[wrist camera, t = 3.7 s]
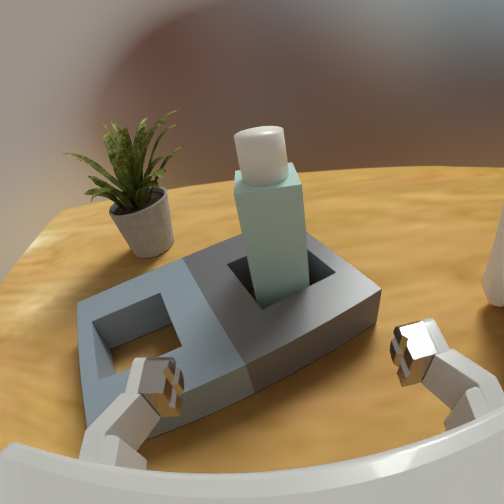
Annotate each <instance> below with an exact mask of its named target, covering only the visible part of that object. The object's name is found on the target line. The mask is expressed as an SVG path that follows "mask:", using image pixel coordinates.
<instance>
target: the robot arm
mask: <svg viewBox="0 0 504 504" xmlns="http://www.w3.org/2000/svg"><path fill="white" fill-rule="evenodd" d="M393 333H394V336H395V337H394V338H393V339H392V340H391V344H390V354H391V358H392V361H393V364H395V365H396V366H397V367H399V368H398V371H397V375H398V378H399V380H400V383H401V386H402V387H405V386H409V385H412V384H416V383H420V382H422V384H423V385H424V386H425V387H426V388H427V389H429V390H430V391H431V392H432V393H433V394H434V395H435V396H436V397H438V398H439V399H440V400H441V401H442V402H443V403H444V404H445V405H447V406H448V407H449V408H450V409H451V410H452V411H451V412H450V414H449V415H448V416H447V417H446V419H445V420H444V425H445V428H446V432H443V433H440V434H438V435H435V436H432V437H429V438H426V439H423V440H420V441H417V442H414V443H411V444H408V445H405V446H401V447H398V448H395V449H391V450H387V451H384V452H380V453H376V454H372V455H368V456H364V457H359V458H355V459H350V460H345V461H340V462H335V463H329V464H323V465H317V466H310V467H303V468H296V469H287V470H277V471H266V472H251V473H220V474H208V473H177V472H163V471H151V470H146V469H147V460H146V458H144V457H143V456H142V455H140V454H139V453H138V452H137V450H138V449H139V447H140V446H141V444H142V443H143V442H144V440H145V439H146V438H147V436H148V435H149V433H150V432H151V431H152V429H153V428H154V426H155V425H156V424H157V422H158V421H159V419H160V417H174V416H181V410H182V400H181V399H180V397H179V396H180V395H181V394H182V393H183V392H184V377H183V374H182V371H181V370H180V369H179V368H178V367H176V361H175V359H174V358H173V357H149V358H148V357H146V358H135V359H134V360H133V362H132V366H131V370H130V373H129V377H128V381H127V385H126V389H125V393H121V394H120V395H119V396H118V397H117V398H116V399H115V400H114V401H113V402H112V404H111V405H110V406H109V407H108V408H107V409H106V410H105V411H104V412H103V413H102V414H101V415H100V416H99V417H98V418H97V419H96V420H95V421H94V422H93V423H92V424H91V425H90V426H89V427H88V428H87V429H86V431H85V434H84V438H83V442H82V446H81V450H80V455H79V459H76V458H72V457H67V456H63V455H59V454H55V453H52V452H48V451H44V450H41V449H37V448H34V447H31V446H28V445H25V444H22V443H18V442H12V443H11V444H9V445H8V446H6V447H5V448H4V449H3V450H1V451H0V504H504V392H503V390H502V388H501V386H500V384H499V382H498V380H497V378H496V376H494V375H493V374H491V373H489V372H488V371H486V370H485V369H483V368H482V367H480V366H479V365H477V364H476V363H474V362H473V361H471V360H470V359H468V358H466V357H465V356H463V355H462V354H460V353H459V352H457V351H456V350H454V349H451V350H450V349H449V347H448V345H447V343H446V341H445V339H444V337H443V335H442V333H441V331H440V330H439V328H438V326H437V324H436V322H435V320H434V319H433V318H428V319H425V320H421V321H415V322H411V323H407V324H403V325H399V326H396V327H395V329H394V332H393Z"/></svg>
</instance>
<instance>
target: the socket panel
mask: <svg viewBox="0 0 504 504" xmlns="http://www.w3.org/2000/svg"><path fill="white" fill-rule="evenodd" d="M306 240H307V253H308V268H309V282H310V283H312V284H313V285H311V286H309V287H307V288H305V289H303V290H301V291H299V292H297V293H295V294H293V295H291V296H289V297H287V298H285V299H283V300H281V301H279V302H277V303H275V304H273V305H271V306H269V307H267V308H265V309H263V310H262V309H261V307H260V306H259V305H258V304H257V302H256V301H255V300H254V298H253V297H252V296H251V295H250V293H249V292H248V291H247V290H248V289H251V288H253V283H252V278H251V274H250V269H249V264H248V259H247V255H246V250H245V245H244V240H243V235H242V234H240V235H237V236H235V237H232V238H230V239H227V240H225V241H222V242H220V243H218V244H215V245H213V246H210V247H208V248H205V249H203V250H200V251H198V252H195V253H193V254H191V255H188V256H186V257H183V258H181V259H178V260H176V261H174V262H171V263H169V264H166V265H164V266H162V267H159V268H157V269H154V270H152V271H150V272H147V273H145V274H143V275H140V276H138V277H135V278H133V279H131V280H128V281H126V282H124V283H121V284H119V285H117V286H114V287H112V288H110V289H107V290H105V291H103V292H100V293H98V294H96V295H93V296H91V297H89V298H86V299H84V300H82V301H79V302H77V328H78V349H79V363H80V374H81V384H82V393H83V401H84V408H85V415H86V421H87V428H88V427H89V426H90V425H91V424H92V423H93V422H94V421H95V420H96V419H97V418H98V417H99V416H100V415H101V414H102V413H103V412H104V411H105V410H106V409H107V408H108V407H109V406H110V405H111V404H112V402H113V401H114V400H115V399H116V398H117V397H118V396H119V395H120V394H121V393H125V389H126V385H127V381H128V377H129V373H130V370H131V368H129V369H127V370H124V371H122V372H119V373H116V374H115V369H114V364H113V359H112V353H111V349H112V348H114V347H117V346H119V345H122V344H124V343H127V342H129V341H131V340H134V339H136V338H139V337H141V336H143V335H146V334H148V333H150V332H153V331H155V330H157V329H160V328H162V327H165V326H167V325H169V324H172V323H173V326H174V328H175V331H176V333H177V335H178V338H179V340H180V342H181V345H182V347H179V348H177V349H175V350H172V351H170V352H168V353H165V354H163V355H161V356H158V357H173V358H174V359H175V361H176V367H178V368H179V369H180V370H181V371H182V374H183V377H184V392H183V393H182V394H181V395H180V396H179V397H180V399H181V400H182V410H181V416H174V417H160V419H159V421H158V422H157V424H156V425H155V426H154V428H153V429H152V431H151V432H150V433H149V435H148V436H147V438H146V439H145V440H147V439H150V438H152V437H155V436H158V435H160V434H163V433H166V432H168V431H171V430H173V429H176V428H178V427H181V426H183V425H186V424H188V423H191V422H193V421H195V420H198V419H200V418H202V417H205V416H207V415H209V414H211V413H214V412H216V411H218V410H220V409H223V408H225V407H227V406H229V405H231V404H233V403H235V402H238V401H240V400H242V399H244V398H246V397H248V396H250V395H252V394H254V393H256V392H258V391H260V390H262V389H264V388H266V387H268V386H270V385H272V384H274V383H275V382H277V381H279V380H281V379H283V378H285V377H287V376H289V375H290V374H292V373H294V372H296V371H298V370H299V369H301V368H303V367H305V366H307V365H308V364H310V363H312V362H314V361H315V360H317V359H319V358H320V357H322V356H324V355H325V354H327V353H329V352H330V351H332V350H334V349H335V348H337V347H339V346H340V345H342V344H344V343H345V342H347V341H348V340H350V339H352V338H353V337H355V336H356V335H358V334H359V333H361V332H362V331H364V330H366V329H367V328H369V327H370V326H372V325H373V324H375V323H376V321H377V315H378V309H379V303H380V297H381V290H382V289H381V288H380V287H379V286H377V285H376V284H375V283H374V282H372V281H371V280H370V279H368V278H367V277H366V276H364V275H363V274H362V273H361V272H359V271H358V270H357V269H355V268H354V267H353V266H351V265H350V264H349V263H347V262H346V261H345V260H343V259H342V258H341V257H339V256H338V255H337V254H335V253H334V252H333V251H331V250H330V249H329V248H327V247H326V246H325V245H323V244H322V243H320V242H319V241H318V240H316V239H315V238H314V237H312V236H311V235H310V234H308V233H307V232H306Z"/></svg>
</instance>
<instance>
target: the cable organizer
mask: <svg viewBox="0 0 504 504" xmlns="http://www.w3.org/2000/svg"><path fill="white" fill-rule="evenodd" d="M482 287H483V290H484V292H485V295H486V297H487V300H488V301H489V302H490V303H491V304H492V305H494V306H498V307H504V203H503V207H502V212H501V216H500V220H499V224H498V228H497V232H496V236H495V239H494V243H493V247H492V250H491V253H490V257H489V260H488V263H487V266H486V269H485V272H484V275H483V278H482Z"/></svg>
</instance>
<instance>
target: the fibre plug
mask: <svg viewBox="0 0 504 504" xmlns="http://www.w3.org/2000/svg"><path fill="white" fill-rule="evenodd" d="M234 139H235V144H236V149H237V155H238V160H239V165H240V170H238V171H235V185H234V197H235V202H236V207H237V212H238V216H239V221H240V226H241V231H242V235H243V240H244V245H245V250H246V255H247V259H248V264H249V269H250V274H251V278H252V283H253V288H254V292H255V297H256V302H257V304H258V305H259V306H260V307H261V309H262V310H263V309H265V308H267V307H269V306H271V305H273V304H275V303H277V302H279V301H281V300H283V299H285V298H287V297H289V296H291V295H293V294H295V293H297V292H299V291H301V290H303V289H305V288H307V287H309V286H310V284H309V268H308V253H307V240H306V227H305V215H304V204H303V193H302V184H301V182H300V179H299V177H298V175H297V173H296V170H295V168H294V166H293V164H292V163H287V155H286V147H285V140H284V133H283V128H281V127H277V126H263V127H255V128H251V129H247V130H243V131H240V132H238V133H236V134H235V135H234Z"/></svg>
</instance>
